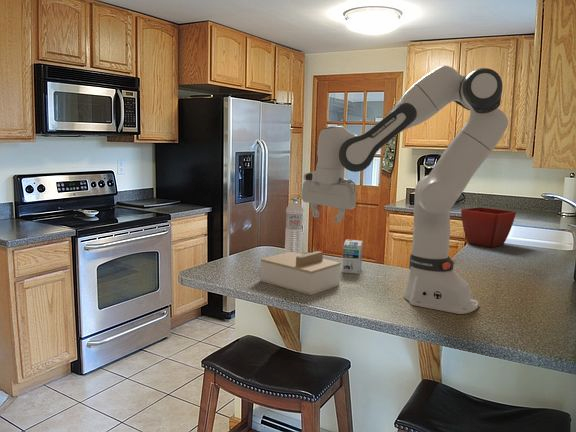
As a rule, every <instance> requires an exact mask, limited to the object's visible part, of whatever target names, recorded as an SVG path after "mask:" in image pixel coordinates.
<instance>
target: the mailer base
mask: <svg viewBox="0 0 576 432" xmlns="http://www.w3.org/2000/svg"><path fill="white" fill-rule="evenodd" d="M259 273H260V277H259V281H260V282H262V283H266V284H270V285H273V286H277V287H281V288H284V289H288V290H290V291H294V292H298V293H301V294H304V295H307V296H312V295H316V294H318V293H321V292H325V291H327V290H330V289H332V288H335V287H338V286H340V282H341V281H340V276H341V264H340V265H339V266H335V267H332V268H329V269H326V270H322V271H319V272H316V273H313V274H310V273H306V272H302V271H298V270H294V269H290V268H286V267H282V266H278V265H274V264H270V263H266V262H262V261H261V260H260V271H259Z"/></svg>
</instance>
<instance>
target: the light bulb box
mask: <svg viewBox="0 0 576 432" xmlns="http://www.w3.org/2000/svg"><path fill="white" fill-rule="evenodd" d="M363 243H364V241H363V240H356V239H348V238H347V239H345V240H344V243H343V249H342V250H343V252H342V253H343V254H342V269H341V270H342V273H345V274H357V275H360V274H361V271H362V262H363V261H362V259H363Z"/></svg>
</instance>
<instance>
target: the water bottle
mask: <svg viewBox="0 0 576 432" xmlns="http://www.w3.org/2000/svg"><path fill="white" fill-rule="evenodd" d="M285 212H286V214H285V215H286V217H285V237H284V239H285V240H284V242H285V243H284V253H287V252H295V253H299V254H303V252H302V250H303V247H302V246H303V213H304V208H303V206H302V205H301V204H300V203H299V202H298V198H296V197H295V198H292V202H291V203H290V204H288V205H287V207H286V209H285Z"/></svg>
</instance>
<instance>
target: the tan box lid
mask: <svg viewBox="0 0 576 432" xmlns="http://www.w3.org/2000/svg"><path fill="white" fill-rule="evenodd" d="M261 261H262V262H266V263H270V264H274V265H278V266H282V267H286V268H290V269H294V270H298V271H302V272H306V273H310V274H313V273H316V272H319V271H322V270H326V269H329V268H332V267H335V266H339V265H340V266H341V262H339V261H334V260H331V259H325V258H324V252H323V251H320V250H317V251H313V252H309V253H304V254H303V253H302V254H299V253H295V252H287V253H285V252H283V253H279V254H276V255H271V256H267V257H263V258H260V262H261Z"/></svg>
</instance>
